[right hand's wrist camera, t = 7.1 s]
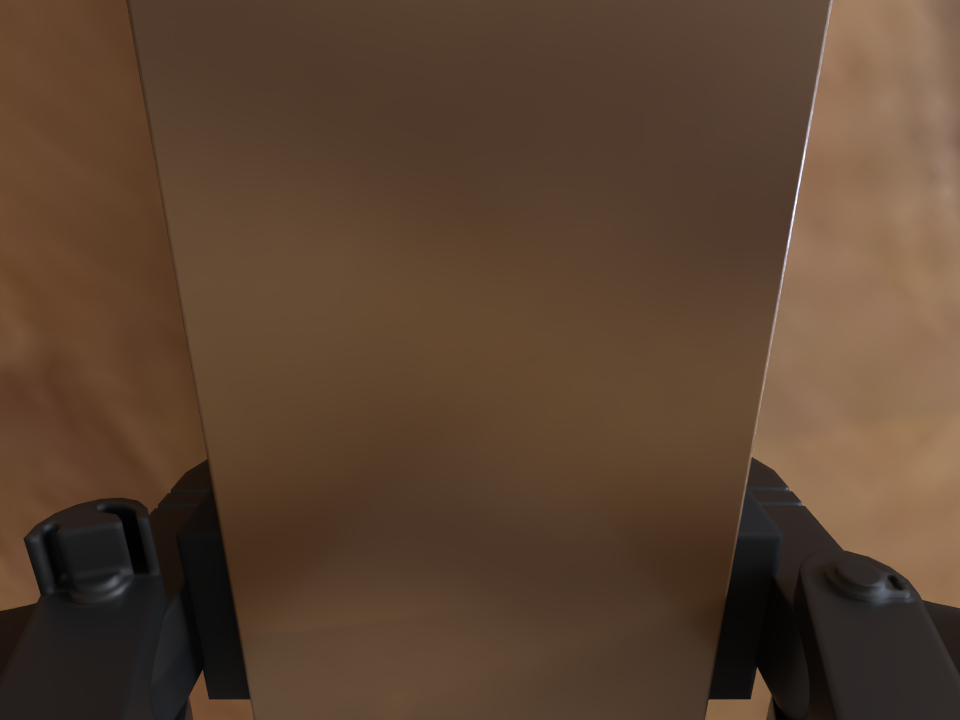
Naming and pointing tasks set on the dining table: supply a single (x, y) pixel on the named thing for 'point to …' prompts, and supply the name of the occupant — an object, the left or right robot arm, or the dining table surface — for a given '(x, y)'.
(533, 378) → the post
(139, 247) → the dining table surface
